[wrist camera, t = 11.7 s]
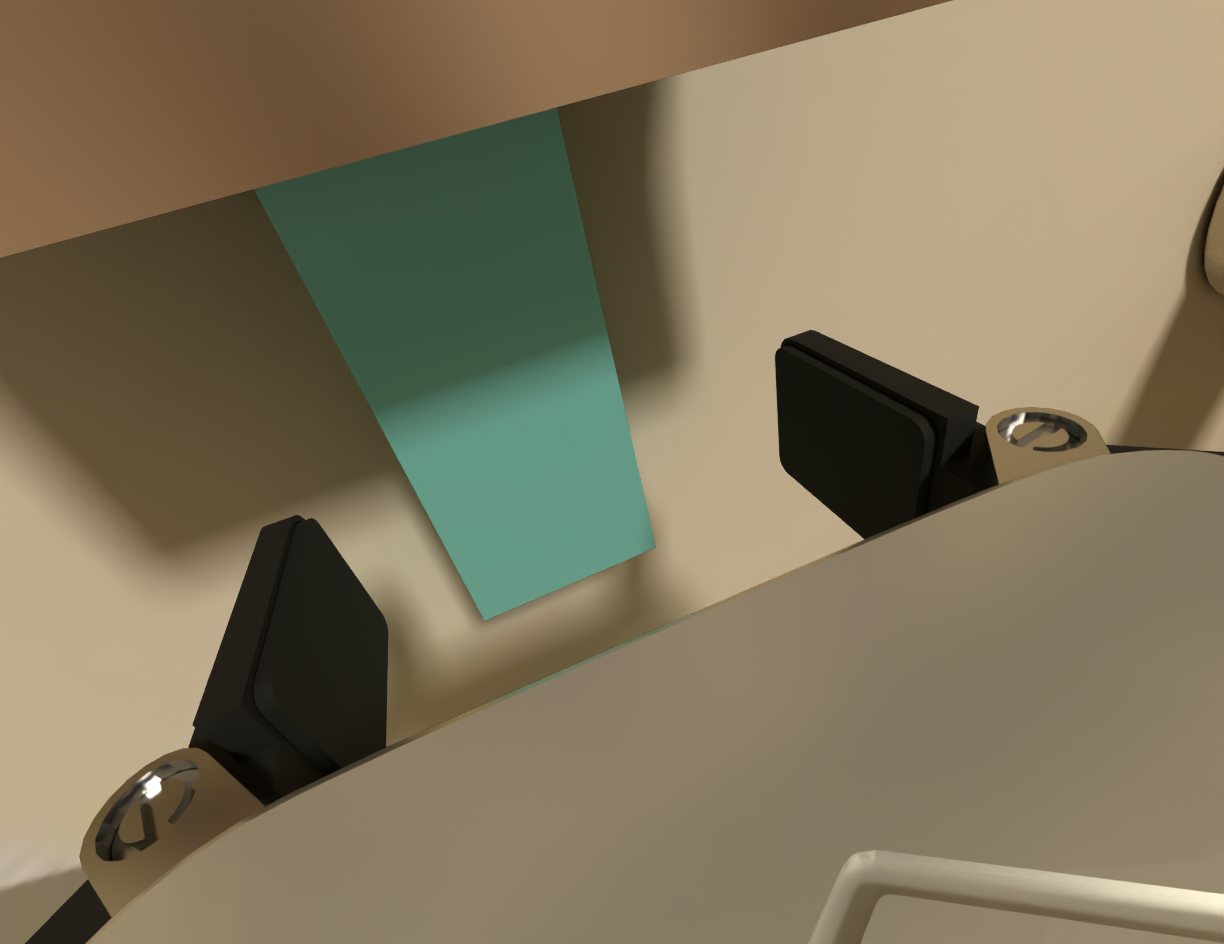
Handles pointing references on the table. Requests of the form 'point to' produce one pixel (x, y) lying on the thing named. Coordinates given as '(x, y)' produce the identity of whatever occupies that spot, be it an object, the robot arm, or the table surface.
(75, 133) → the overhang shelf
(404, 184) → the teal flat plank
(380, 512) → the table surface
